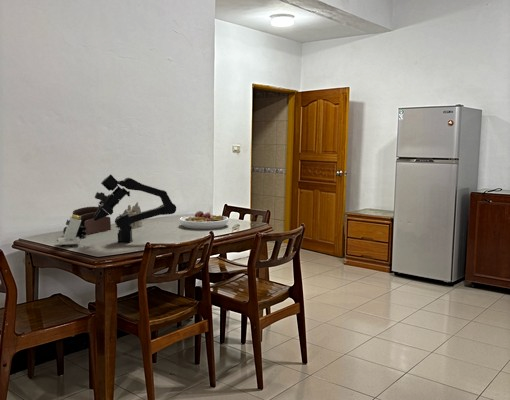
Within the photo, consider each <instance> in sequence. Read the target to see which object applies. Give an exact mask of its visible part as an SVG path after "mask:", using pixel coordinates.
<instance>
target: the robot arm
mask: <svg viewBox="0 0 510 400" xmlns="http://www.w3.org/2000/svg"><path fill="white" fill-rule="evenodd" d="M100 184H101V185H102V186H103V187H104V188H105V189H106V190H108V191H112V192H111V193H109V194H108V195H105V192H99V191H97V192H96V193H95V195H94V199H96V200H99V202H98V204H97V205H98V206H97V207H98V210H97V212H96V214H95V215H94V217H93V218H94V220H95V221H96V220H98V219H101V218H103V217H105V216H106V217H109V216H112V215H113V213H114V208H115V207H116V205H119V204H120V202H121V200H123V198H125V196H127V197H131V191H130V190H132V191H137V192H138V191H141V192H143V193H146V194H149V195H153V196H156V197H159V198H160V199H161V202H162V204H160V205H159V206H158V207H155V208H152V209H148V210H143V211H141V212H140V213H137V214H133V215H128V213H124V212H123V213H124V214H123V213H122V214H121V213H119V215H118V216H116V217H115V220H114V224H115V225H116V226H117V227H118V228H119V230H117V231H118V232H117V243H124V244H125V243H127V244H128V243H131V242H133V241H134V239H133V228H132V227H131V226H130V225H131V224H132V223H134V222H137V221H140V220H142V221H143V220H146V219H151V218H153V217H157V216H161V215H162V216H163V215H164V216H165V215H174V214H175V213H176V212H177V206H176V204H175V203H173V202H172V199H171V198H170V196H169V194H168V193H167V191H165V190H164V189H159V188H156V187H153V186H150V185H146V184H143V183H141V182H138V181H137V180H135V179H134V178H132V177H126V178H124V179H122V180H117V178H115V177H114V176H113V175H112V174H109V175H107V177H105V178H104V179H103V180H102V181H101V182H100ZM121 187H122V188H121Z"/></svg>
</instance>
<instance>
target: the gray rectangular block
mask: <svg viewBox="0 0 510 400" xmlns="http://www.w3.org/2000/svg"><path fill="white" fill-rule="evenodd" d="M57 239H58V246H59V245H60V247H64V246H66V245H69V247H75V246H76V245H77V244H79V245H80V244H81V239H79V237H75V240H73V239H69V238H66V237H59V238H57Z"/></svg>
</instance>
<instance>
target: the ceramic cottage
mask: <svg viewBox="0 0 510 400" xmlns="http://www.w3.org/2000/svg"><path fill="white" fill-rule="evenodd" d="M140 212H142V210H141V206H140V205H139V201H137V202H136V203H135V204H134V205H132V206H131V204H128V205H127V208H126V209H124V211H123V213H122V214H124V213H128V215H133V214H137V213H140ZM143 225H144V224H143V220H140V221H137V222H134V223H132V224H131V225H130V226H131V227H132V229H136V228H141V227H143Z"/></svg>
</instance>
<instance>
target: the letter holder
mask: <svg viewBox="0 0 510 400" xmlns="http://www.w3.org/2000/svg"><path fill="white" fill-rule="evenodd" d="M97 210H98V206H84V207H81V208H77V209H74V210H73V211H72V214H74V215H77V216H81V223H80V225H83V226H84V227H86V230H84V229H83V231H84V232H86V236H88V235H91V234H96V233H101V232H105V231H106V232H107V231H111V230H112V224H111V223H112V222H111V217H110V216H105V217H103V218H101V219H98V220H96V221H95V220H94V218H93V217H94V215H95V214H96V212H97Z"/></svg>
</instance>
